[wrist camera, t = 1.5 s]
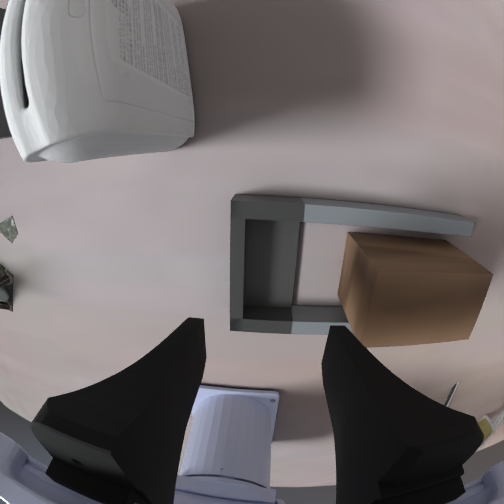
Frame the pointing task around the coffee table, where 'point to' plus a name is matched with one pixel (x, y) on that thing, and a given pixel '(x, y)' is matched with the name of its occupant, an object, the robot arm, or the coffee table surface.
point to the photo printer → (95, 78)
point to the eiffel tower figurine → (3, 279)
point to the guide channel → (285, 254)
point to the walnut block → (409, 290)
